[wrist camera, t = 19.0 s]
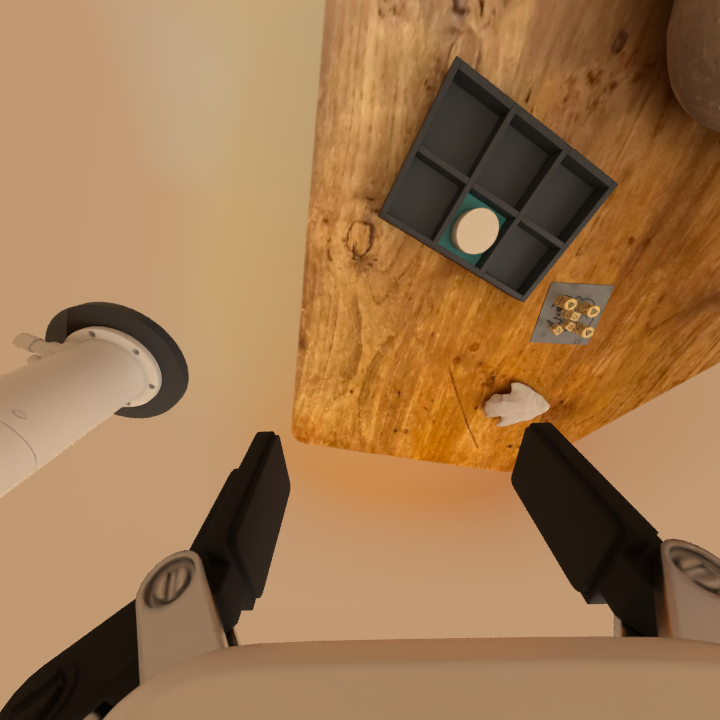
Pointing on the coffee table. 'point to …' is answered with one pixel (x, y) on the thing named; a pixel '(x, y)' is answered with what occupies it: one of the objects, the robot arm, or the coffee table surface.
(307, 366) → the coffee table surface
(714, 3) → the bowl
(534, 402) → the arrowhead
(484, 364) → the coffee table surface
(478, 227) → the cylinder
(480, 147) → the grid
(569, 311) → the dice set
